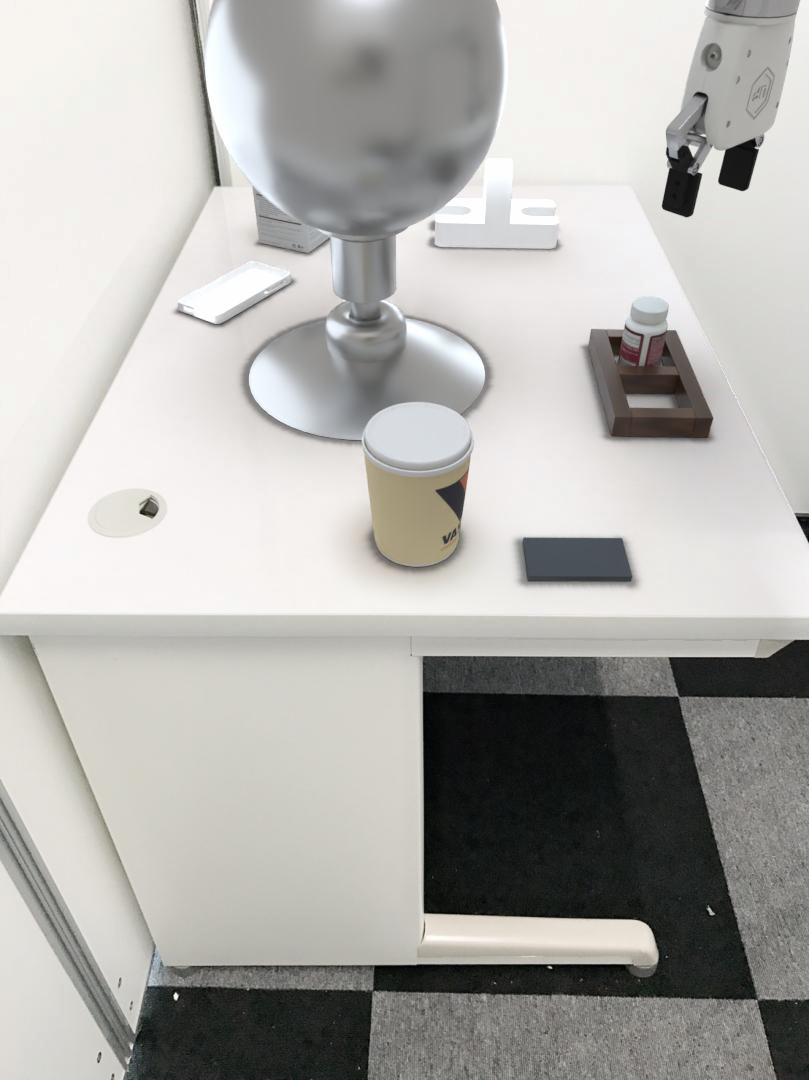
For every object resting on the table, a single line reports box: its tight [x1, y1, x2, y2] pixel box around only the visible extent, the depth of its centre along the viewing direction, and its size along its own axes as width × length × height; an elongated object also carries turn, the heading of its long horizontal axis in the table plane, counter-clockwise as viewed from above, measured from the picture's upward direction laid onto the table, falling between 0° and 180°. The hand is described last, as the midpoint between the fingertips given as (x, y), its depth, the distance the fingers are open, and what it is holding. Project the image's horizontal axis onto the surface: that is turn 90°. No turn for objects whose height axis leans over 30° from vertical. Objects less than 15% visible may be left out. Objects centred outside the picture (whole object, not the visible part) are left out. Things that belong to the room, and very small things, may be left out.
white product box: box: [251, 185, 330, 254], centre depth 123 cm, size 9×9×15 cm
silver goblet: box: [204, 0, 509, 441], centre depth 85 cm, size 28×28×45 cm
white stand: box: [434, 158, 560, 250], centre depth 125 cm, size 10×18×11 cm, turn 88°
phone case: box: [177, 260, 292, 325], centre depth 113 cm, size 7×1×15 cm
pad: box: [522, 537, 633, 582], centre depth 76 cm, size 9×5×1 cm, turn 89°
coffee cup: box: [361, 402, 475, 568], centre depth 74 cm, size 9×9×12 cm
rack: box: [587, 328, 714, 438], centre depth 96 cm, size 10×19×2 cm, turn 178°
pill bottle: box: [616, 295, 670, 366], centre depth 97 cm, size 5×5×8 cm
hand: (705, 199), depth 83 cm, fingers open, 9 cm apart
